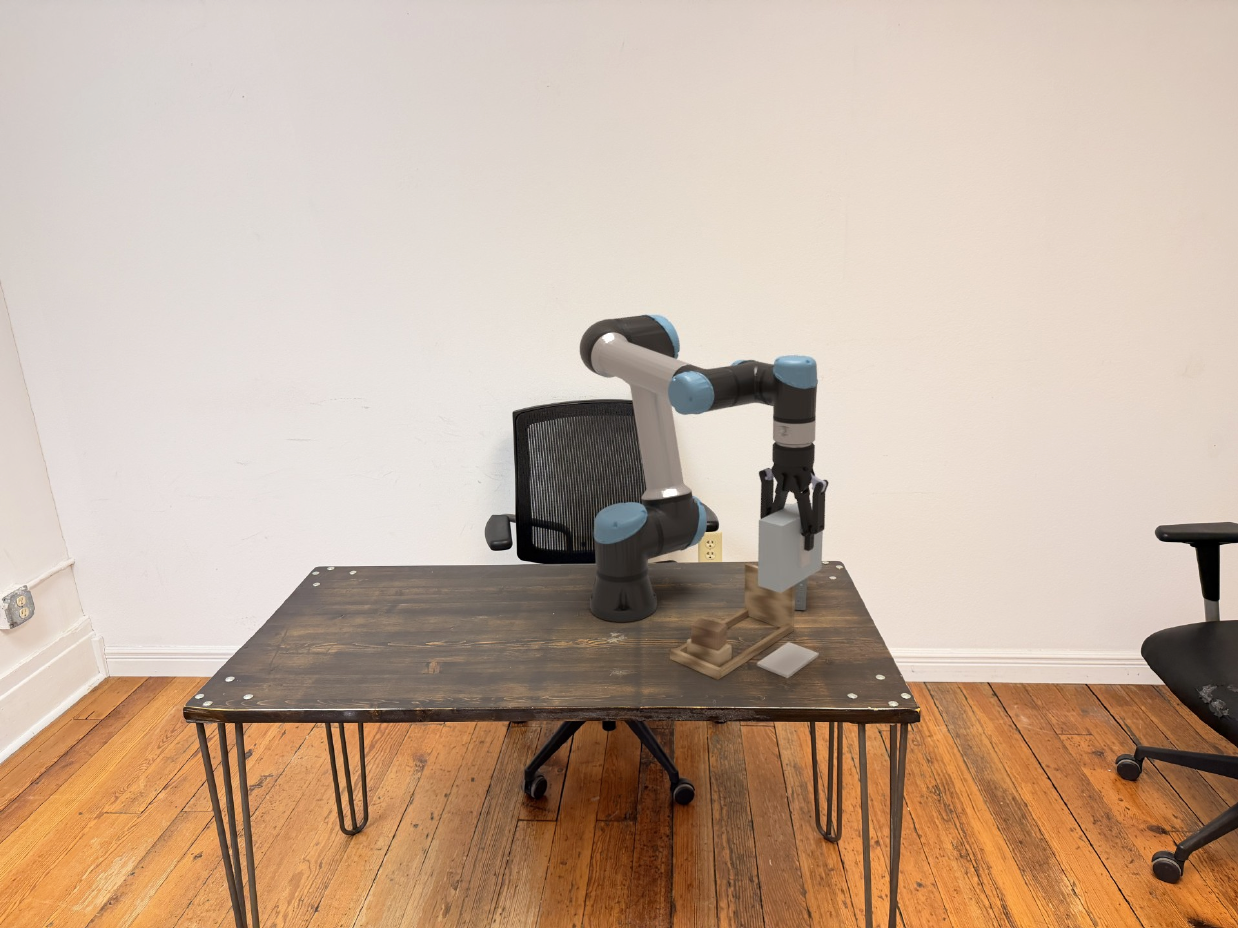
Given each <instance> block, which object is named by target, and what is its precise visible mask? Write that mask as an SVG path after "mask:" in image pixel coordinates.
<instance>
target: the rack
mask: <svg viewBox="0 0 1238 928" xmlns="http://www.w3.org/2000/svg"><path fill="white" fill-rule="evenodd" d="M795 612H796V610H795V585H794V586H792V587H790V588H789V589H787V590H785V591H783V592H782V593H779V592H776V591H773V590H770V589H767V588H764V587H761V586H758V565H755V564H752V563H750V562H747V563H745V564H744V608H743V609H742V610H739V611H738V612H736V613H734V614H733V615H731V616H729V617H727V618H726V619H724V620H723V621H720V623H723V624H727V630H728V629H730V628H731V627H732V626H734V625H735V624H738V623H739V622H742V621H743V620H744V619H746V618H748V617H749V618H753V619H756V620H758V621H760V622H763V623H766V624H769V625H772V626H774V627H778V630H776V631H774V632H772V633H771V634H769V635H767V636H766V637H765V638H763V639H761V640H760V641H758V642H757V643H754V644H753V646H751V647H749V648H748V649H746V650H745V651H743V652H741V653H740V654H739V655H736V656H735V657H733V658H732V660H731V661H729V662H727V663H726V664H724V665H723V666H721V667H720V668H719V667H717V666H714V665H712V664H710V663H707V662H705V661H703V660H700V659H698V658H696V657H693V656H691V655H689V654H687V641H686V642H685V643H683V644H682V645H680V646H678V647H677V648H674V647H672V648H671V649H669V659H670V660H672V661H674V662H677V663H679V664H681V665H683V666H685V667H688V668H690V669H692V670H695V671H697V672H699V673H701V674H704V675H706V676H708V677H710V678H713V679H715V680H717V681H718V680H721V679H722V678H724V676H727V675H728V674H729V673H731V672H733V671H734V670H736V669H737V668H739V667H741V666H742V665H743V664H745V663H746V662H748V661H749V660H751V659H752V658H754V657H756V656H757V655H758V654H760V653H762V652H763V651H765V650H766V649H768V648H770V647H771V646H772V645H774V644H775V643H776V642H778V641H780V640H781V639H783V638H785V637H786V636H788V635H789V634H790V633H792V632H793V631H795Z"/></svg>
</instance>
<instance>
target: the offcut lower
mask: <svg viewBox="0 0 1238 928" xmlns="http://www.w3.org/2000/svg"><path fill="white" fill-rule="evenodd" d="M686 642H687V653H686V654H689V655H691V656H693V657H696V658H698V659H700V660H703V661H705V662H707V663H710V664H712V665H714V666H717V667H719V668H720V667H721V666H723V665H724V664H726V663H727V662H729V661H731V660H732V659H733V658H732V657H733V655H732V654H733V651H732V650H733V646H732V645H730V644H728V643H726V644H725V645H724V646H723V647H722V648H721V649H720V650H719V651H717V650H714V649H710V648H707V647H703V646H699V645H696V644H692V643H691V637H690V638H688V639H687V640H686Z"/></svg>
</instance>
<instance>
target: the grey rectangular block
mask: <svg viewBox="0 0 1238 928" xmlns="http://www.w3.org/2000/svg"><path fill="white" fill-rule="evenodd" d="M791 504H792V505H790V506H788V507H786V508H784V509H781V510H779V511H777V512H775V513H773V514H771V515H769V516H766V517H764V518H762V519H761V518H759V519H758V543H757V544H758V548H757V549H758V551H757V552H758V553H757V555H758V557H757V559H758V560H757V561H758V562H757V563H758V564H757V566H758V586H761V587H764V588H767V589H770V590H773V591H776V592H779V593H782V592H783V591H785V590H787V589H789V588H790V587H792V586H794V585H795V584H797V583H799V582H800V581H802V580H804V579H805V578H807V579H808V578H809V577H810V576H812V575H814V574H815V573H817V572H819V571H821V570H822V563H823V560H822V559H823V534H824V533H823V531H824V530H823V531H821V532H819V533H817V534H814V547H813V549H812V550H810V564H808V565H806V566H804V567H803V568H800V567H798V558H799V534H801V533H802V532H803V529H802V524H801V519H800V514H799V509H798V504H797V501H796V502H794V503H791ZM811 507H812V502H811Z"/></svg>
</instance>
